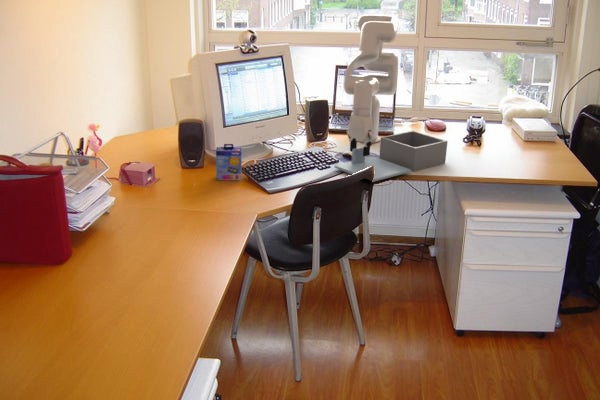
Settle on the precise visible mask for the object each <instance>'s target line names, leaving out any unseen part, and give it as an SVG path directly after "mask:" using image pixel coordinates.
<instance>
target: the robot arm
mask: <svg viewBox="0 0 600 400" xmlns="http://www.w3.org/2000/svg"><path fill="white" fill-rule="evenodd" d="M357 25H358V29H359V32H360V37H359V40H360V41H359V48H358V53H357V55H356V56H354V57H353V58H352V59H351V61H350V62H349V63H348V64H347V67H346V69H345V75H344V83H343V89H344V91H345V93H346V94H348V95H353V101H352V112H351V114H350V117H349V123H348V129H347V130H346V134H347V138H348V141H349V142H350V144H349V145H350V146H349V152H351V153H352V149H354V148H358V147H357V145H358V142H359V143H363V145H364V146H362V147H363V156H365V157H369V156H370V155H371V154H370V152H371V147H372V145H373V144H374V143H380V142H381V137H382V136H379V125H380V124H379V122H380V108H381V103H380V101H379V99H378V98H377V96H378V95H379V96H393V95H395V93H396V91H397V88H398V74H399V71H398V70H399V57H398V53H397V52H395V51H392V50H384V49H383V45H384V44H383V43H393V42H394V41H396V37H397V32H398V30H399V29H398V27H399V21H398V18H397V16H395V15H391V14H389V15H387V14H372V13H371V14H362V15H360V16H359V17H358V18H357ZM360 67H363V68H364V70H366V71H367V73H363V74H361V76H354V75H353V74H354V72H355V71H356V70H357V69H359V68H360ZM368 71H370V72H369V73H368ZM372 72H375V73H372ZM376 72H377V73H376ZM378 72H379V73H378ZM381 72H382V73H381ZM385 73H387V74H385ZM376 95H377V96H376Z"/></svg>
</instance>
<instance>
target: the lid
mask: <svg viewBox="0 0 600 400" xmlns="http://www.w3.org/2000/svg"><path fill="white" fill-rule="evenodd" d="M363 147H364V146H359V147H357V148H354V149H352V152H351V161H347V162H342V163H338V164H335V165H333V166H334V169H338V170H341V171H342V172H345V173H346V174H349V175H352V174H353V173H356V172H358V171H360V170H363V169H365V168H367V167H370V166H374V167H375V174H374V178H373V180H372V182H371V183H374V182H378V181H382V180H385V179H389V178H394V177H397V176H401V175H404V174H407V173H411V172H412V171H411V169H408V168H405V167H402V166H399V165H397V164H394V163H391V162H388V161H385V160H382V159H379V157H376V156H372V155H371V156H363Z"/></svg>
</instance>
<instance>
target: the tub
mask: <svg viewBox="0 0 600 400" xmlns="http://www.w3.org/2000/svg"><path fill="white" fill-rule="evenodd" d="M380 137H381V140H380V141H379V143H380V144H379V145H380V146H379V155H378V158H379V159H382V160H385V161H388V162H391V163H394V164H397V165H399V166H402V167H405V168H408V169H411V172H413V173H414V172H418V171H421V170H425V169H426V170H427V169H429V168H433V167H437V166H440V165H445V164H446V160H447V159H446V158H447V148H448V142H449V141H448V140H445V139H442V138H438V137H435V136H431V135H429V134H426V133H422V132H418V131H415V130H410V131H404V132H399V133H395V134H391V135H386V136H380Z"/></svg>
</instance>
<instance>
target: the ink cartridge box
mask: <svg viewBox="0 0 600 400" xmlns="http://www.w3.org/2000/svg"><path fill="white" fill-rule="evenodd" d="M215 173H216V181H241V180H242V147H241V146H234V143H224V144H223V146H216V150H215Z"/></svg>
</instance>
